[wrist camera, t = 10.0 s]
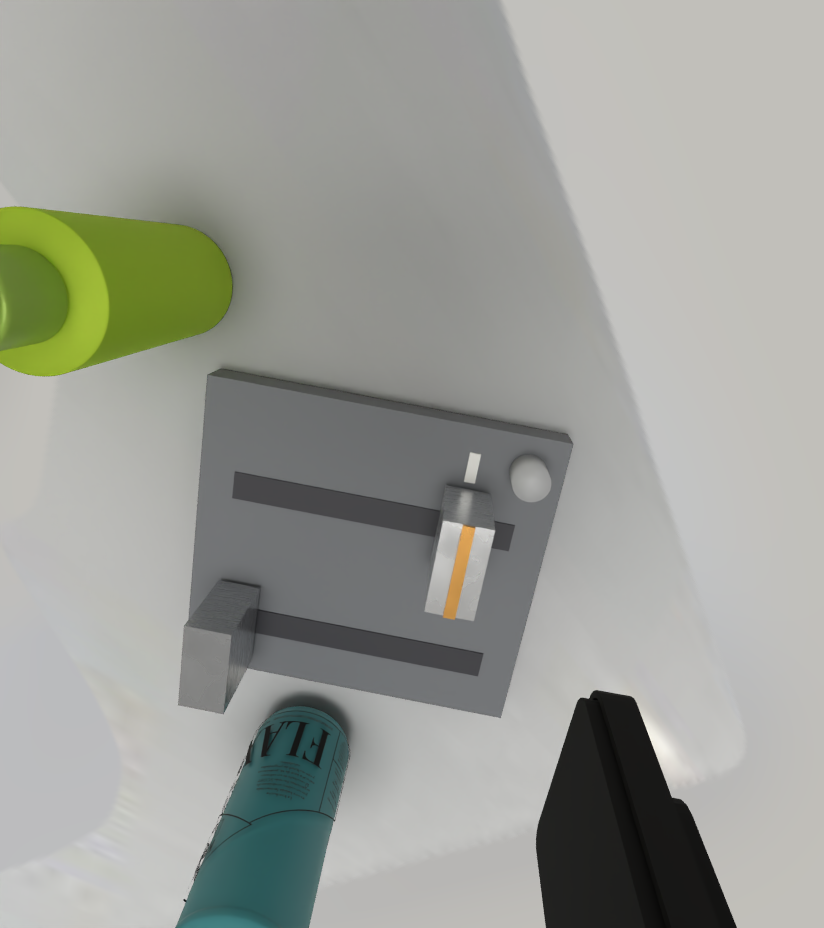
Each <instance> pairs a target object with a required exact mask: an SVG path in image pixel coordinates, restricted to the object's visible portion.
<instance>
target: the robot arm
mask: <svg viewBox="0 0 824 928" xmlns="http://www.w3.org/2000/svg"><path fill="white" fill-rule="evenodd" d="M536 851H537V860H538V867H539V876H540V884H541V891H542V899H543V907H544V915H545V923H546V928H737V927H736V924H735V922H734V920H733V917H732V914H731V912H730V909H729V907H728V904H727V902H726V899H725V897H724V894H723V892H722V889H721V887H720V884H719V882H718V879H717V877H716V874H715V872H714V869H713V866H712V864H711V861H710V859H709V856H708V854H707V852H706V849H705V846H704V844H703V841H702V839H701V836H700V834H699V831H698V829H697V826H696V824H695V821H694V819H693V816H692V814H691V812H690V810H689V808H688V806H687V805H686V804H685V803H684V802H683V801H682V800H681V799H676V798H672V797H671V795H670V791H669V789H668V786H667V783H666V781H665V778H664V775H663V773H662V770H661V767H660V765H659V762H658V759H657V757H656V754H655V751H654V749H653V746H652V743H651V741H650V738H649V735H648V733H647V730H646V727H645V725H644V722H643V719H642V717H641V714H640V711H639V708H638V706H637V703H636V701H635V700H634V698H632V697H631V696H626V695H620V694H615V693H609V692H604V691H598V690H596V691H593V693H592V694H591V696H590V698H589V699H587V698H580V699H579V700H578V702H577V704H576V707H575V710H574V714H573V717H572V720H571V723H570V726H569V729H568V732H567V736H566V739H565V742H564V745H563V748H562V751H561V754H560V757H559V761H558V764H557V767H556V770H555V773H554V776H553V779H552V783H551V786H550V789H549V792H548V795H547V798H546V801H545V804H544V808H543V811H542V814H541V817H540V820H539V824H538V828H537V836H536Z"/></svg>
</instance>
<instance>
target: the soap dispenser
mask: <svg viewBox="0 0 824 928" xmlns="http://www.w3.org/2000/svg"><path fill="white" fill-rule="evenodd" d="M231 297H232V276H231V272H230V268H229V265H228V263H227V260H226V258H225V256H224V255H223V253H222V252H221V250H220V249H219V247H218V246H217V245H216V244H215V243H214V242H213V241H212V240H211V239H210V238H209V237H207V236H206V235H205V234H203V233H202V232H200V231H198V230H196V229H194V228H191V227H188V226H184V225H176V224H168V223H159V222H150V221H141V220H133V219H124V218H115V217H107V216H98V215H89V214H80V213H72V212H63V211H54V210H46V209H37V208H28V207H5V208H0V363H1V364H3V365H5V366H6V367H9V368H11V369H13V370H15V371H18V372H21V373H24V374H28V375H34V376H56V375H61V374H65V373H69V372H72V371H75V370H79V369H82V368H86V367H89V366H92V365H96V364H99V363H103V362H106V361H109V360H113V359H116V358H120V357H123V356H127V355H130V354H133V353H137V352H140V351H144V350H147V349H150V348H154V347H157V346H161V345H164V344H167V343H171V342H174V341H178V340H181V339H184V338H188V337H191V336H195V335H198V334H201V333H204V332H206V331H208V330H210V329H211V328H213V327H214V326H215V325H216V324H217V323H218V322H219V321H220V320H221V319H222V318H223V316H224V315H225V313H226V311H227V309H228V307H229V304H230V301H231Z"/></svg>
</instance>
